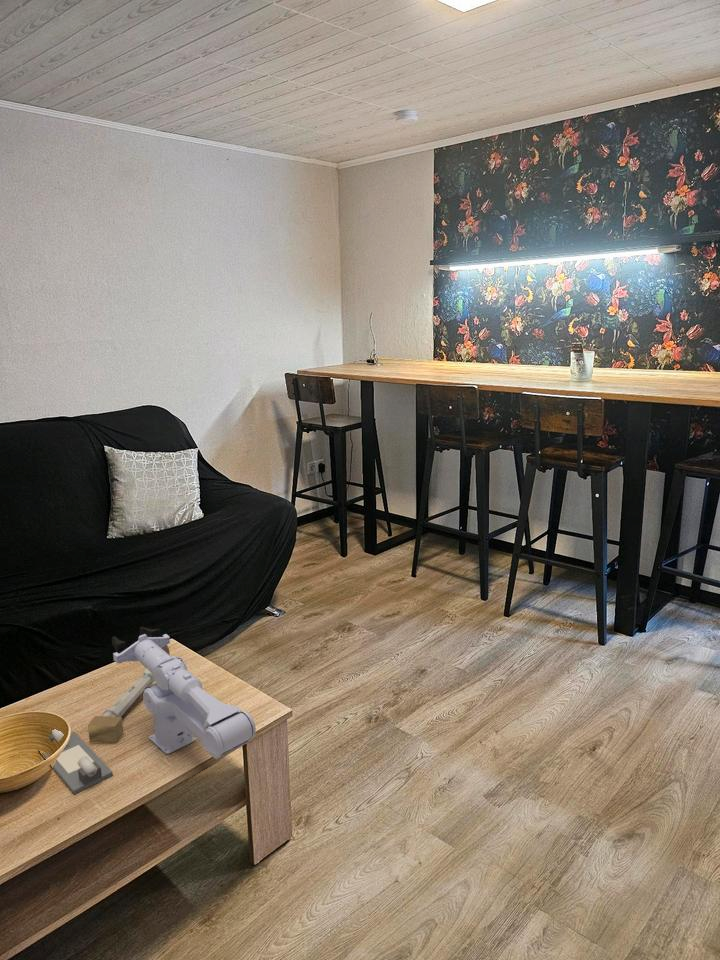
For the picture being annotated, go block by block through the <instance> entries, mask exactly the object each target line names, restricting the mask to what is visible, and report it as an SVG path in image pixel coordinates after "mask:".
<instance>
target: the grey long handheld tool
mask: <svg viewBox="0 0 720 960" xmlns="http://www.w3.org/2000/svg"><path fill="white" fill-rule="evenodd" d="M156 685H158V684H157V682H156V680H155V677H154V674H152V673H151V672H150V671H149V670H148V669H147V668H146V667H145V669H143V674H142V676H141V677H140V678H139V679H137V681H136V682H135V683H134V684H132V686H131V687H130V688H128V689H127V691H126V692H125V693H124V694H123V695H122V696H121V697H120V698H119V699H118V700H117V701H116V702H114V703H113V704H112V706H111V707H109V708H107V709H106V710H105V711H103V715H102V716H111V717H122V716H124V714H125V712H127V710H128V709H129V708H130V707H131V706H132V705H133V703H134V702H135V701H136V700H137V698H138V697H139V696H140V695H141V694H142V692H144V691H145V689H147V688H151V687H153V686H156Z"/></svg>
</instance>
